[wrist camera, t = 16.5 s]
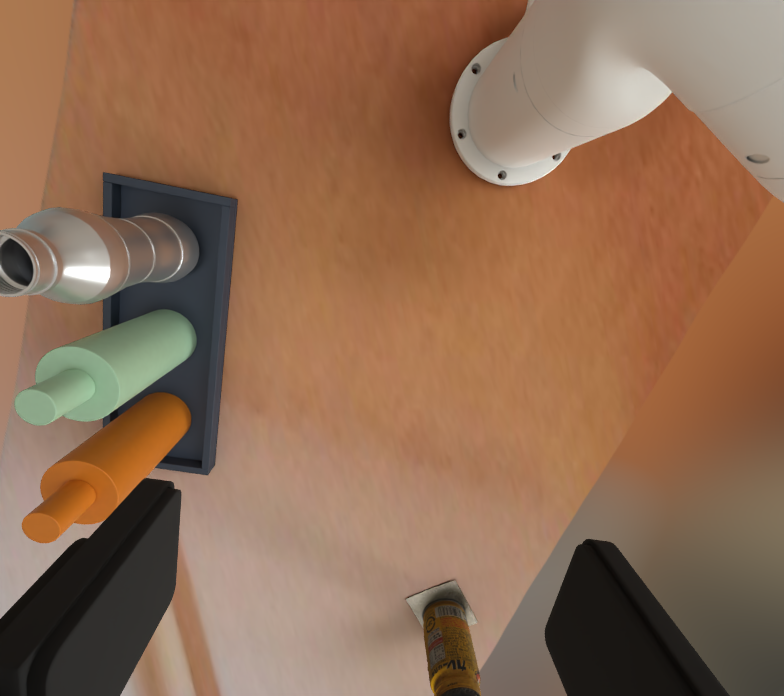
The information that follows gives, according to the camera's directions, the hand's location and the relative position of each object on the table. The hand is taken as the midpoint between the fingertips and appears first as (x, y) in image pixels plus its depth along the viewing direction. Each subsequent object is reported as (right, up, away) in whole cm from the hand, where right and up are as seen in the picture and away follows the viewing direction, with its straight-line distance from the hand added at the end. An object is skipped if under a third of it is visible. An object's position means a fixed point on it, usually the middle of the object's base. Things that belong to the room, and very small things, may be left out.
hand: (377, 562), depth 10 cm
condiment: (+7, -31, +48) cm, 57 cm away
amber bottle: (-25, -3, +37) cm, 45 cm away
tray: (-24, +6, +35) cm, 43 cm away
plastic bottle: (-22, +15, +32) cm, 42 cm away
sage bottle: (-24, +6, +34) cm, 42 cm away
